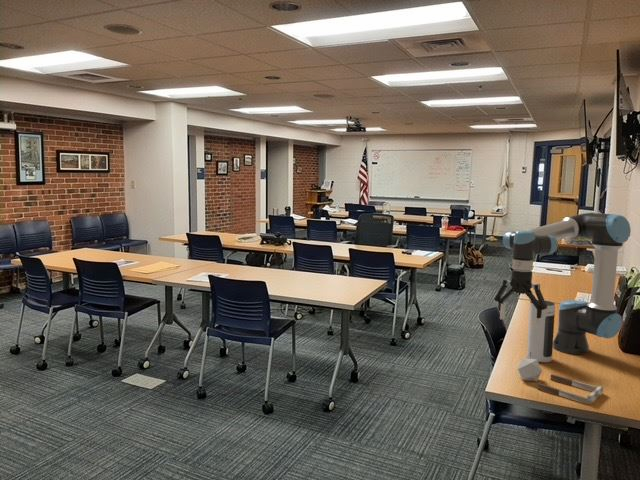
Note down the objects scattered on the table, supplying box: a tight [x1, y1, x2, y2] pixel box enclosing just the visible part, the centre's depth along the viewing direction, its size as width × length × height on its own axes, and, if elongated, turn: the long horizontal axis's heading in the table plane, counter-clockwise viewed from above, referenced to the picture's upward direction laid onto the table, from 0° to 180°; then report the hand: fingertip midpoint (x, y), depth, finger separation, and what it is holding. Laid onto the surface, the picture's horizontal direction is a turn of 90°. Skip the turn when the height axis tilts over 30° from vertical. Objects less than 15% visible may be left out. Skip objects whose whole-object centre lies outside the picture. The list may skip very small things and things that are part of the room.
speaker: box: [526, 299, 556, 363], centre depth 217 cm, size 11×10×26 cm
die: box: [517, 357, 543, 382], centre depth 195 cm, size 8×9×10 cm
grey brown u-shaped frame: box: [536, 373, 604, 406], centre depth 184 cm, size 14×18×3 cm
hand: (518, 322), depth 196 cm, fingers open, 13 cm apart
